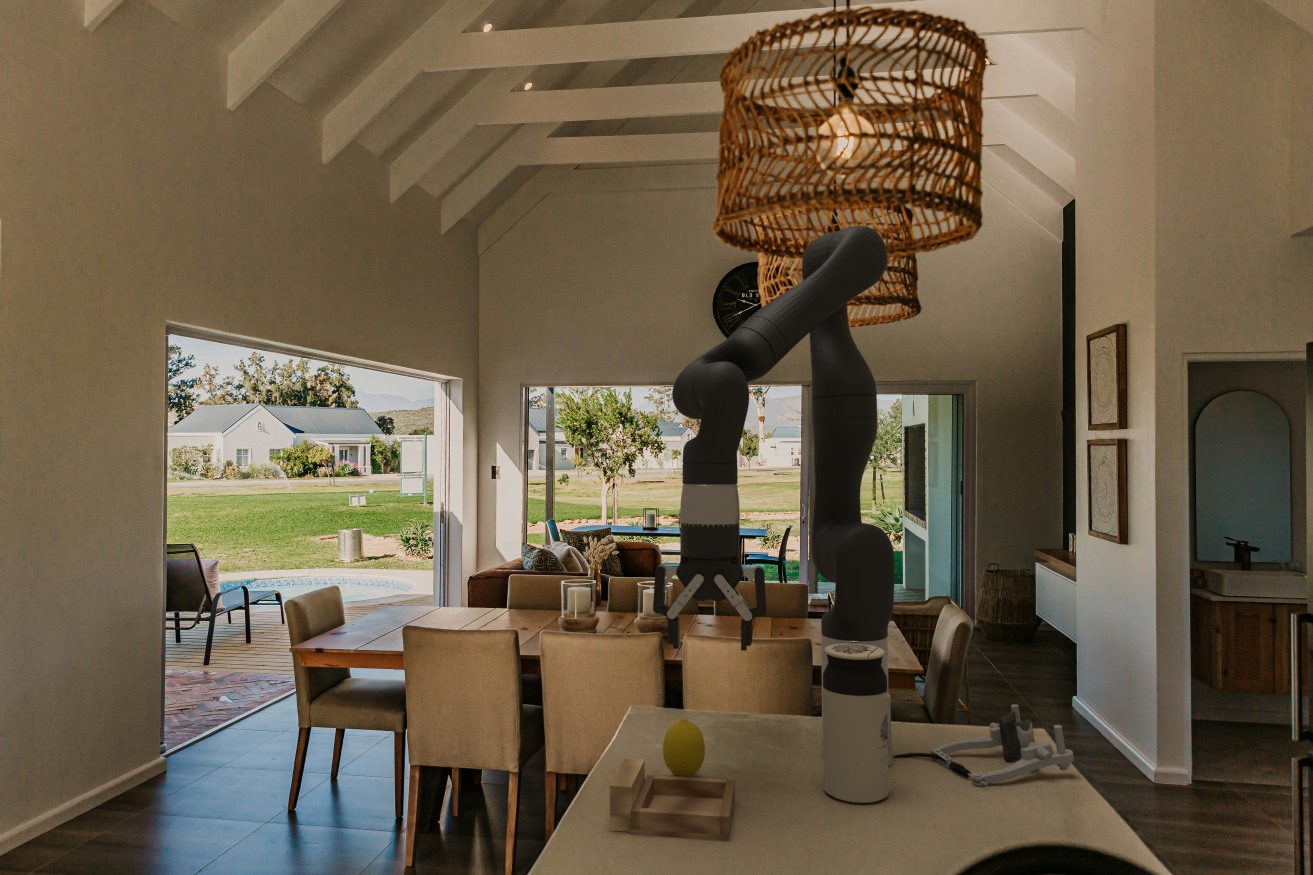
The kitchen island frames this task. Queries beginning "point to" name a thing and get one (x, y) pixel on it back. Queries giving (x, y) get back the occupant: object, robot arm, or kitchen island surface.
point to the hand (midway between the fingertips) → (709, 648)
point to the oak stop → (625, 793)
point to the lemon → (684, 748)
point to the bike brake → (1005, 750)
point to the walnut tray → (684, 808)
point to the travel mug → (855, 723)
